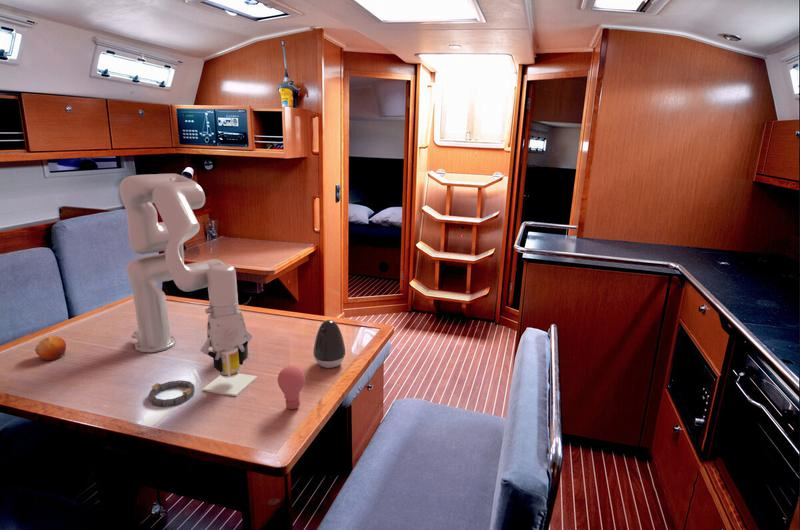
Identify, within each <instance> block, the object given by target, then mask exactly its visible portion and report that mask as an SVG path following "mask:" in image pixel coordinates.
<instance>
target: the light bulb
mask: <svg viewBox="0 0 800 530" xmlns="http://www.w3.org/2000/svg"><path fill="white" fill-rule="evenodd" d="M305 382H306V378H305V373H304V371H303V370H302V369H301V368H300V367H298V366H296V365H288V366H286V367H283V368H282V369H281V370H280V372H279V373H278V376H277V384H278V385H277V386H278V387H279V389H280V390H281V392H282V393H283V394H284V395H283V396H284V399H285V407H286V408H287V409H291V410H294V409H297V408H299V407H300V406H301V399H300V396H301V395H300V392H301V390H302V389H303V387H304V384H305Z"/></svg>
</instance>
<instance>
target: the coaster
mask: <svg viewBox="0 0 800 530" xmlns="http://www.w3.org/2000/svg"><path fill="white" fill-rule="evenodd" d="M256 378H257V379H258V376H257V375H251V374H245V373H240V372H239V374H238V375H236V376H234V377H230V378H225V377H222V376H221V375H220V374H219V376H218V377H216V378H215V379H214V380H212V381H211V382H209V383H208V384H207V385H206V386H205V387H203V388H202V391H203V392H206V391H207V392H209V393H212V394H219V395H225V396H230V395H231V397H236V396H237V397H238V396H239V395H240V394H241V393H243V392H244V391H245V390H246V389H247V388H248V387H249V386H250V385H251V384H253V383H254V382H255V381H256V380H257V379H256ZM255 379H256V380H255ZM254 380H255V381H254ZM253 381H254V382H253ZM248 385H249V386H248ZM247 386H248V387H247ZM246 387H247V388H246ZM245 388H246V389H245ZM244 389H245V390H244Z"/></svg>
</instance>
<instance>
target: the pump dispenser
mask: <svg viewBox="0 0 800 530" xmlns="http://www.w3.org/2000/svg"><path fill="white" fill-rule="evenodd" d="M313 344H314V346H313V357H314V361H316V363H317V364H318V365H319V366H321V367H322V368H326V369H332V368H336V367H338V366H339V365H341V364H342V362H343V360H344V358H345V355H346V346H345V341H344V337H343V334H342V331H341V329H340V327H339V325H338V324H337V322H336V321H334V320H332V319H326V320H324V321H323V322H322V323H321V324H320V326H319V328H318V330H317V333H316V336H315V340H314V343H313Z"/></svg>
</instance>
